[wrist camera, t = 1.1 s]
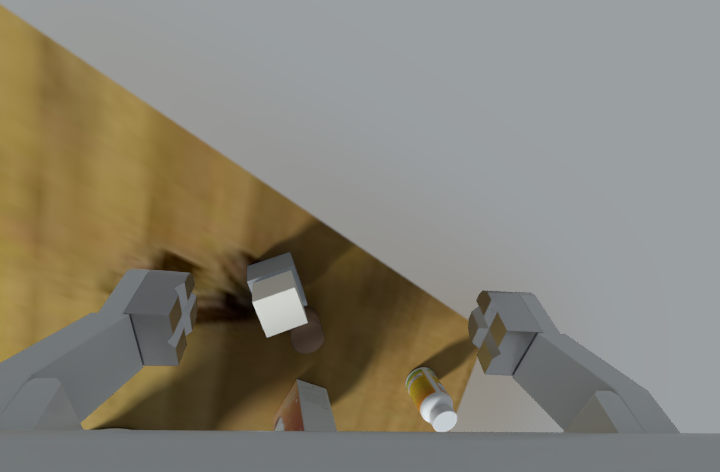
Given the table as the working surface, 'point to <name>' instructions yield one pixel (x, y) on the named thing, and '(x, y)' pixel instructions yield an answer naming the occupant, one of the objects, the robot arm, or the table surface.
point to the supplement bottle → (431, 399)
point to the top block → (278, 303)
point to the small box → (305, 410)
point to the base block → (274, 271)
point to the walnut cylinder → (308, 333)
